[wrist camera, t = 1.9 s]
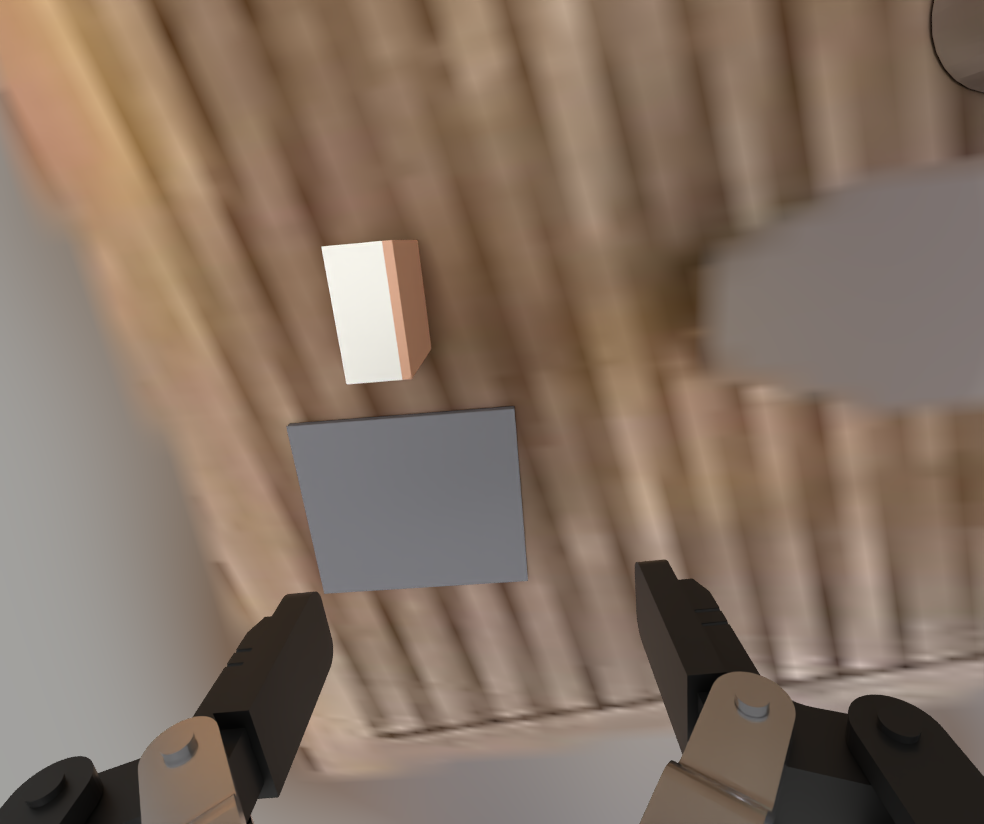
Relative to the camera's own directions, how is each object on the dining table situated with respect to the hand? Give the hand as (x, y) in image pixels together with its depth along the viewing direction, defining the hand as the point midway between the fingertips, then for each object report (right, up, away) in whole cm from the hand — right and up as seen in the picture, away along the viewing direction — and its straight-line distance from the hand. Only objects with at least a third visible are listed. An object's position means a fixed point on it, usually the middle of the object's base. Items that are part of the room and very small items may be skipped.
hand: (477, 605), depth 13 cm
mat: (-5, -2, +26) cm, 26 cm away
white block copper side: (-6, +12, +21) cm, 25 cm away
